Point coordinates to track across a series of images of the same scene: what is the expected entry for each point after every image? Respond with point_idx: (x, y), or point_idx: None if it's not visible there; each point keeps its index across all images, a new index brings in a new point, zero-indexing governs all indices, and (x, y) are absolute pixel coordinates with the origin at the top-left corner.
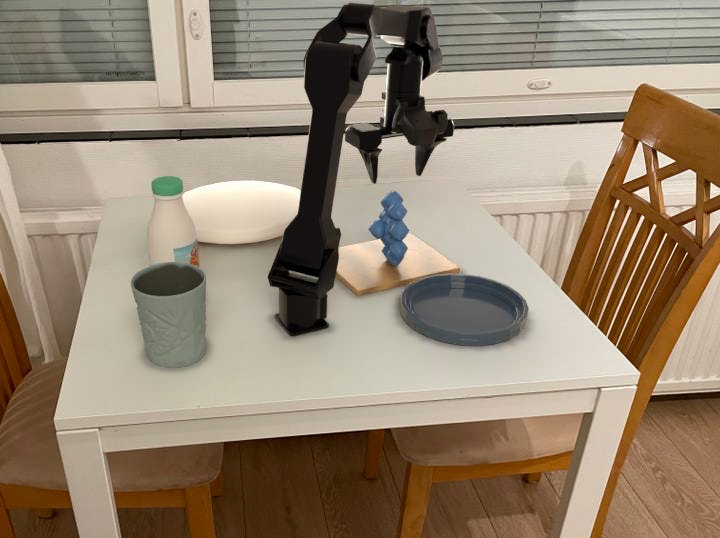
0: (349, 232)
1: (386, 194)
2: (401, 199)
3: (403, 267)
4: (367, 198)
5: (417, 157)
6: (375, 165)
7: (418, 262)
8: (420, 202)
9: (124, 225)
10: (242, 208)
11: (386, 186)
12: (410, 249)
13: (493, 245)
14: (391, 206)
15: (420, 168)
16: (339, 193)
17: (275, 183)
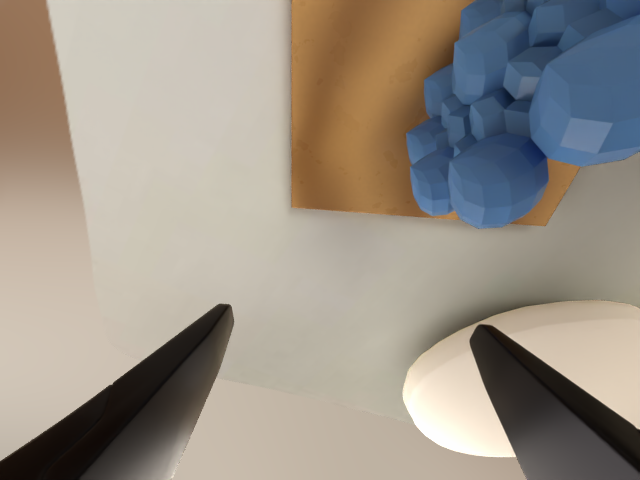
0: (385, 278)
1: (519, 217)
2: (605, 39)
3: (456, 9)
4: (271, 357)
5: (186, 419)
6: (637, 445)
7: (390, 19)
8: (191, 314)
9: None
10: (609, 393)
11: (220, 373)
12: (350, 121)
13: (104, 51)
14: None
15: (209, 334)
16: (301, 382)
17: (426, 431)
